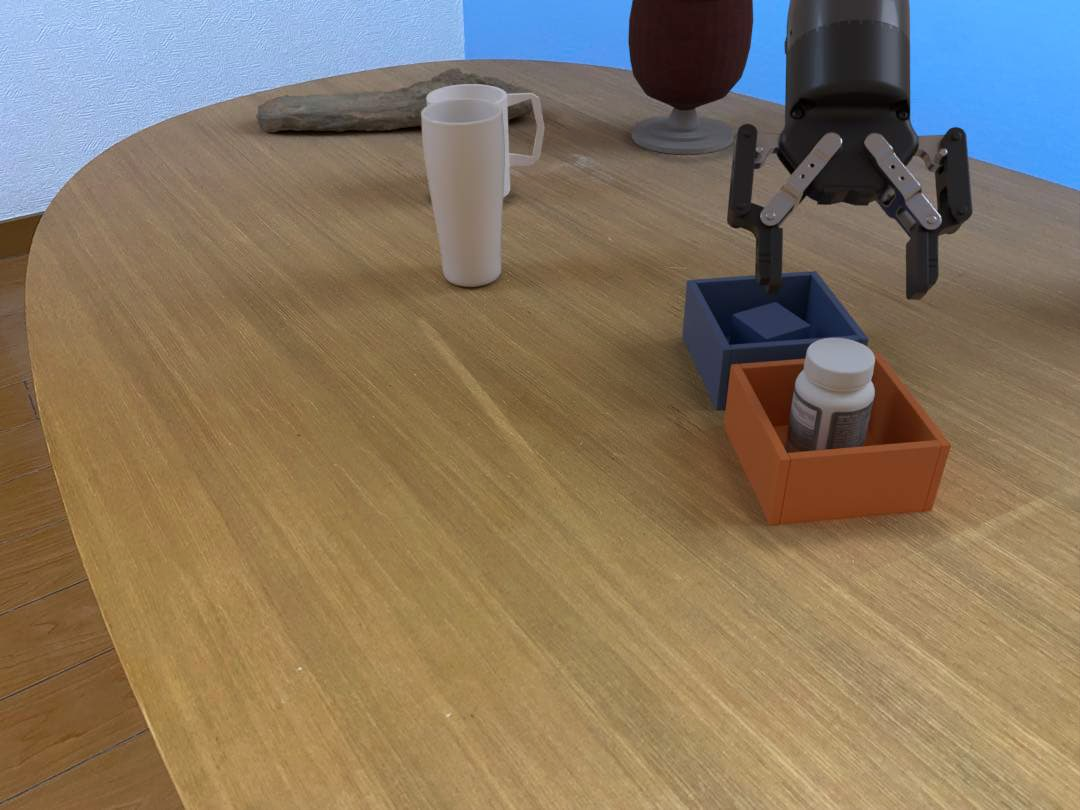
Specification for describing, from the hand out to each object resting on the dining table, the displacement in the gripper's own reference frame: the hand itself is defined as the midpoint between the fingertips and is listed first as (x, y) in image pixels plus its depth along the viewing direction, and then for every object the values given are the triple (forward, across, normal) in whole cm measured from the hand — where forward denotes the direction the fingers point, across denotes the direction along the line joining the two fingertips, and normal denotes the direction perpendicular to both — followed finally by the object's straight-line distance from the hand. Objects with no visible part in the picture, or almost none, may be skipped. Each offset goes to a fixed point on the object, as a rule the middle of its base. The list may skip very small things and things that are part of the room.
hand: (845, 294), depth 57 cm
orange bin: (+10, 0, +6) cm, 12 cm away
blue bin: (+2, -3, +14) cm, 15 cm away
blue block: (+2, -3, +14) cm, 14 cm away
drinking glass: (-8, -28, +24) cm, 37 cm away
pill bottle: (+10, 0, +6) cm, 11 cm away
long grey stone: (-37, -44, +53) cm, 78 cm away
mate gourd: (-35, -8, +51) cm, 62 cm away
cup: (-22, -29, +38) cm, 53 cm away
